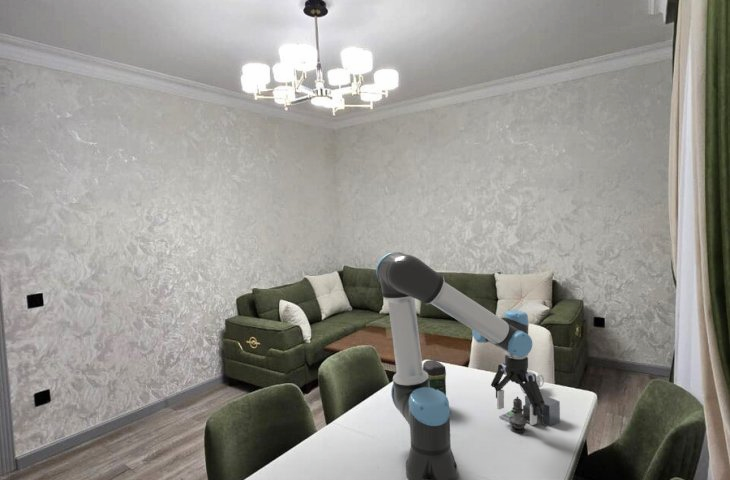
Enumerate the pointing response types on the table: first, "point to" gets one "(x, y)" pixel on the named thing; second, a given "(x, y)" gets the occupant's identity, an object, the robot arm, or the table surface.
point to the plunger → (527, 412)
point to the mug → (536, 378)
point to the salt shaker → (517, 417)
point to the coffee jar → (436, 375)
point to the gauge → (548, 411)
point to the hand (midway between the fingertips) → (516, 415)
